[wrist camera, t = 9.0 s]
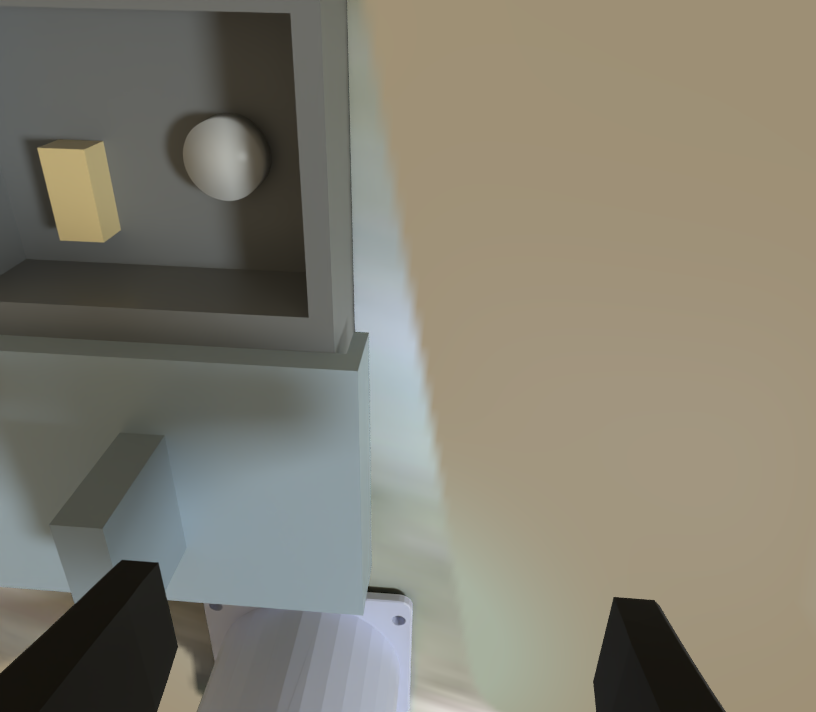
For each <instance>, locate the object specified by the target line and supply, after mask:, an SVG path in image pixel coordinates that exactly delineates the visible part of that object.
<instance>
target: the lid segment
mask: <svg viewBox="0 0 816 712" xmlns="http://www.w3.org/2000/svg"><path fill="white" fill-rule="evenodd" d="M121 560H132V561H146V562H159V567H160V571H161V575H162V580H163V584H164V588H165V593H166V597H167V600H173V601H186V602H198V603H211V604H223V605H236V606H249V607H261V608H274V609H287V610H299V611H312V612H325V613H337V614H350V615H362V616H363V614H364V608H365V602H366V596H367V590H368V584H369V578H370V572H371V566H372V551H371V468H370V385H369V333H365V332H354V333H353V336H352V339H351V342H350V345H349V348H348V351H347V354H338V353H320V352H302V351H284V350H266V349H248V348H229V347H211V346H193V345H175V344H157V343H139V342H121V341H103V340H85V339H67V338H49V337H31V336H13V335H0V587H9V588H21V589H34V590H47V591H59V592H71V594H72V597H73V600H74V603H76V602H77V601H78V600H79V599H81V598H82V597H83V596H84V595H85V594H86V593H87V592H88V591H89V590H90V589H91V588H92V587H93V586H94V585H95V584H96V583H97V582H98V581H99V580H100V579H101V578H102V577H104V576H105V575H106V574H107V573H108V572H109V571H110V570H111V569H112V568H113V567H114V566H115V565H116V564H117V563H119V562H120V561H121Z"/></svg>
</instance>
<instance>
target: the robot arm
mask: <svg viewBox="0 0 816 712" xmlns="http://www.w3.org/2000/svg"><path fill="white" fill-rule="evenodd" d="M203 604H204V609H205V614H206V619H207V625H208V630H209V635H210V640H211V646H212V651H213V656H214V661H215V664H214V667H213V669H212V672H211V675H210V678H209V680H208V683H207V686H206V688H205V691H204V694H203V696H202V699H201V702H200V704H199V707H198V710H197V712H410V680H411V648H412V616H413V604H412V601H411V600H410V598H408V597H406V596H404V595H400V594H387V593H374V592H367V596H366V602H365V608H364V614H363V616H362V615H350V614H337V613H325V612H312V611H299V610H287V609H274V608H261V607H249V606H236V605H223V604H211V603H203ZM399 616H401V617H399ZM177 648H178V645H177V641H176V636H175V632H174V628H173V623H172V619H171V614H170V610H169V606H168V601H167V597H166V593H165V588H164V584H163V580H162V575H161V571H160V567H159V562H146V561H132V560H121V561H120V562H119V563H117V564H116V565H115V566H114V567H113V568H112V569H111V570H110V571H109V572H108V573H107V574H106V575H105V576H104V577H102V578H101V579H100V580H99V581H98V582H97V583H96V584H95V585H94V586H93V587H92V588H91V589H90V590H89V591H88V592H87V593H86V594H85V595H84V596H83V597H82V598H81V599H79V600H78V601H77V602H76V603H75V604H74V605H73V606H72V607H71V608H70V609H69V610H68V611H67V612H66V613H65V614H64V615H63V616H62V617H61V618H60V619H59V620H57V621H56V622H55V623H54V624H53V625H52V626H51V627H50V628H49V629H48V630H47V631H46V632H45V633H44V634H43V635H42V636H41V637H39V638H38V639H37V640H36V641H35V642H34V643H33V644H32V645H31V646H30V647H29V648H27V649H26V650H25V651H24V652H23V653H22V654H21V655H20V656H19V657H18V658H17V659H15V660H14V661H13V662H12V663H11V664H10V665H9V666H8V667H7V668H6V669H5V670H3V671H2V672H1V673H0V712H157V710H158V707H159V704H160V701H161V698H162V695H163V692H164V689H165V686H166V683H167V680H168V677H169V673H170V670H171V667H172V664H173V660H174V658H175V654H176V651H177ZM593 683H594V693H595V703H596V712H726V711H725V710H724V709H723V707H722V705H721V704H720V702H719V701H718V699H717V698H716V697H715V695H714V693H713V692H712V690H711V689H710V688H709V686H708V684H707V683H706V681H705V680H704V678H703V676H702V675H701V673H700V672H699V670H698V668H697V667H696V665H695V664H694V662H693V661H692V659H691V657H690V656H689V654H688V652H687V651H686V649H685V648H684V646H683V644H682V643H681V641H680V639H679V638H678V636H677V634H676V633H675V631H674V629H673V628H672V626H671V625H670V623H669V621H668V619H667V618H666V616H665V614H664V613H663V611H662V609H661V607H660V606H659V605H658V604H657V603H656V602H655V601H654V600H644V599H632V598H619V597H614V598H613V602H612V607H611V611H610V615H609V619H608V623H607V627H606V631H605V636H604V639H603V644H602V648H601V652H600V656H599V660H598V664H597V669H596V673H595V677H594V681H593Z"/></svg>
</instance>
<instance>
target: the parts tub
mask: <svg viewBox="0 0 816 712" xmlns="http://www.w3.org/2000/svg"><path fill="white" fill-rule="evenodd" d="M354 332H355V324H354V282H353V239H352V197H351V155H350V113H349V71H348V29H347V0H0V335H13V336H31V337H49V338H67V339H85V340H103V341H121V342H139V343H157V344H175V345H193V346H211V347H229V348H248V349H266V350H284V351H302V352H320V353H338V354H347V351H348V348H349V345H350V342H351V339H352V336H353V333H354Z"/></svg>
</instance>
